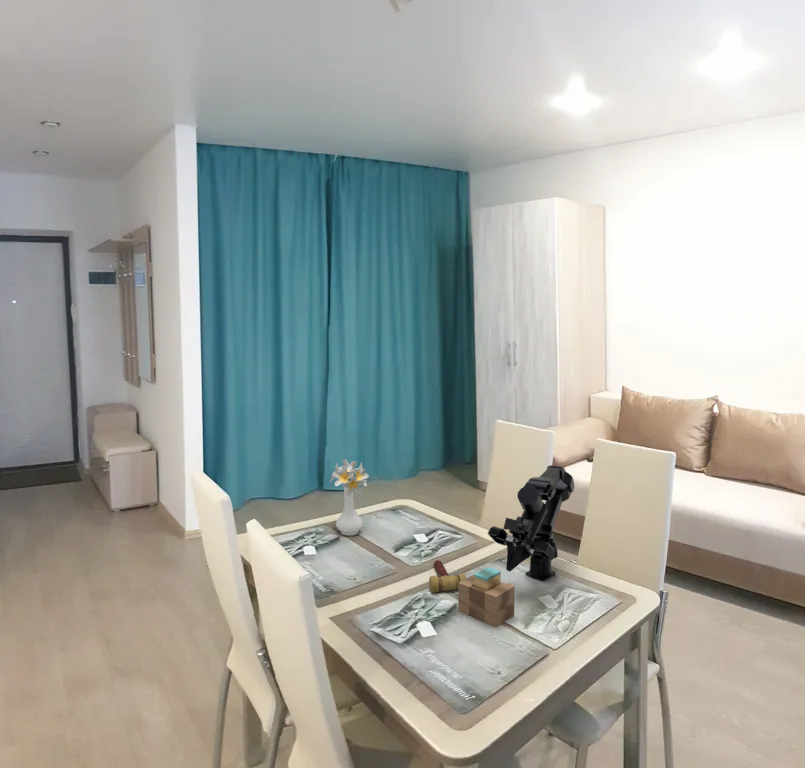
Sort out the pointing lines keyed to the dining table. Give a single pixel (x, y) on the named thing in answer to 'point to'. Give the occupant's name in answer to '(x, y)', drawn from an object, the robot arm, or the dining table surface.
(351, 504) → the flower vase
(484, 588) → the block
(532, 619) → the dining table surface
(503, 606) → the socket block
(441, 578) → the gavel
